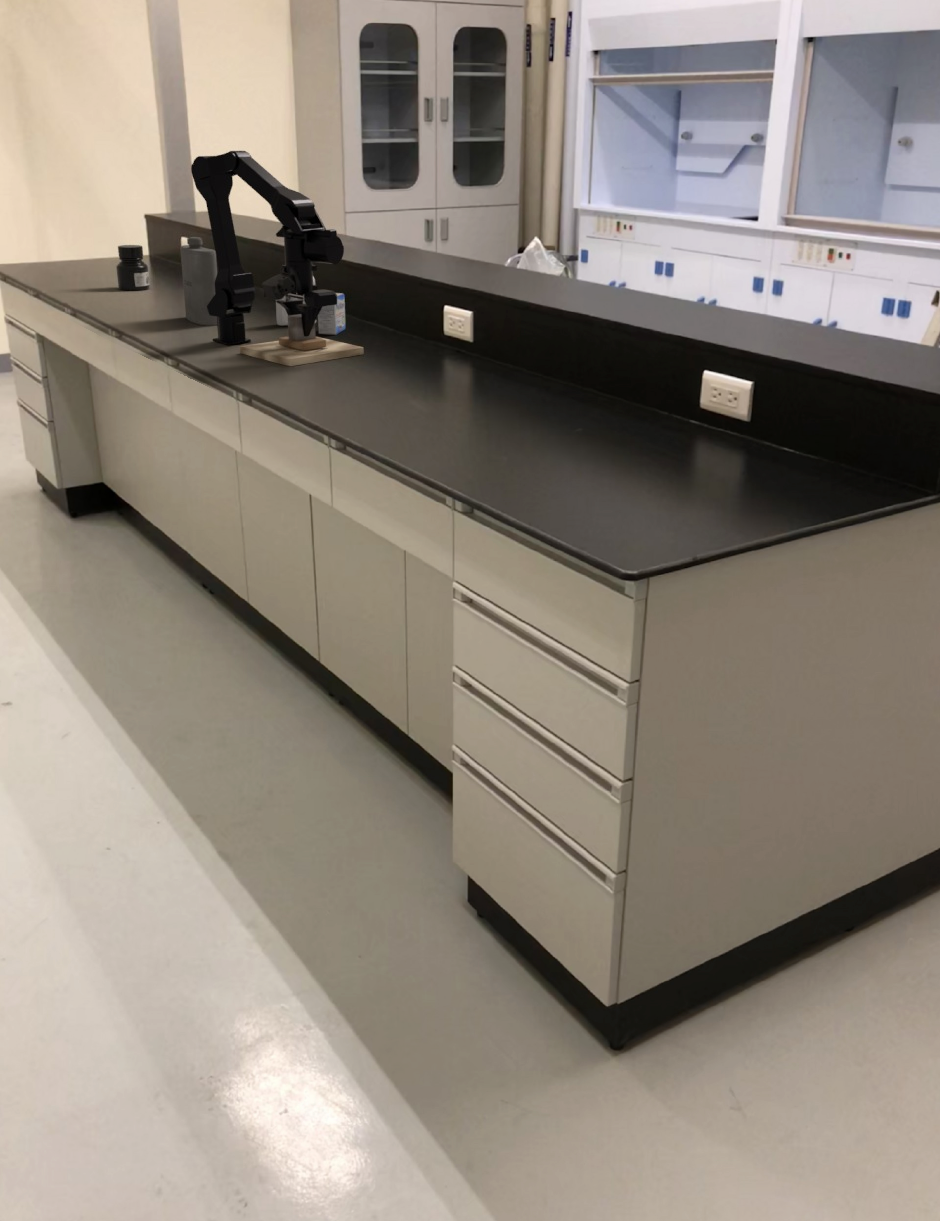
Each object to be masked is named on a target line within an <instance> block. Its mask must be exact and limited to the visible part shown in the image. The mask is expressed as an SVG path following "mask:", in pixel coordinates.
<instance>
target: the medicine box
mask: <svg viewBox="0 0 940 1221" xmlns="http://www.w3.org/2000/svg"><path fill="white" fill-rule="evenodd" d="M335 293H336V294H337V305H330V306H324V307H322V309H321V311H320V313H319V314H318V316H317V324H318V326H317V328H318V334H319V335H330V336H334V335H335V336H336V335H338V334H339V333H342V332H343V331H345V330H346V308H345V307H346V302H345V298H346V297H345V294H344V293H343V292H341V293H340V292H335Z"/></svg>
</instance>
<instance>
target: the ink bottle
mask: <svg viewBox="0 0 940 1221" xmlns="http://www.w3.org/2000/svg"><path fill="white" fill-rule="evenodd" d="M143 248H144V247H143V245H139V244H138V245H137V244H123V245H118V246H117V250H118V251H117V252H118V253H117V254H118V258H119V262H118V263H117V265H116V266H115V267H116V277H117V286H118V289H119V290H122V291H145V290H148V289H150V288H151V287H150V286H151V285H150V275H149V274H150V273H149V266H148V265H147V263H145V262H144V261H143V260H144V249H143Z"/></svg>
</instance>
